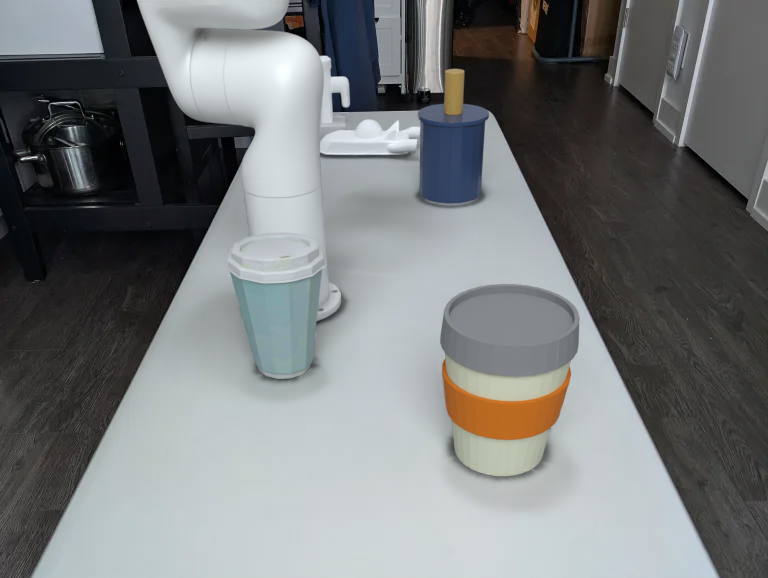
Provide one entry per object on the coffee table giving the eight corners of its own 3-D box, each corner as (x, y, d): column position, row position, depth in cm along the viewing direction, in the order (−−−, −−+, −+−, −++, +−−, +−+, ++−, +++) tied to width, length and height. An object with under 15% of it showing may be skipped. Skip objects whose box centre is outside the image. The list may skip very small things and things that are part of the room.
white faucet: (352, 145, 159) (348, 60, 149) (304, 147, 158) (298, 62, 149) (350, 134, 164) (347, 52, 155) (305, 136, 164) (298, 54, 154)
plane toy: (321, 142, 160) (319, 111, 157) (421, 144, 158) (421, 112, 155) (312, 159, 153) (310, 126, 149) (416, 161, 151) (417, 128, 147)
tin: (474, 209, 131) (478, 128, 123) (412, 203, 134) (413, 123, 126) (486, 188, 139) (491, 110, 131) (427, 183, 141) (428, 106, 133)
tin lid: (480, 133, 123) (483, 81, 118) (409, 128, 126) (409, 77, 121) (494, 113, 131) (497, 64, 127) (427, 109, 134) (428, 61, 129)
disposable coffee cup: (232, 353, 97) (213, 231, 87) (317, 336, 99) (308, 216, 90) (254, 397, 89) (235, 269, 79) (345, 378, 92) (338, 252, 82)
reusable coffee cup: (457, 405, 87) (464, 275, 77) (572, 427, 83) (594, 293, 74) (419, 471, 78) (421, 334, 68) (546, 499, 75) (566, 358, 65)
